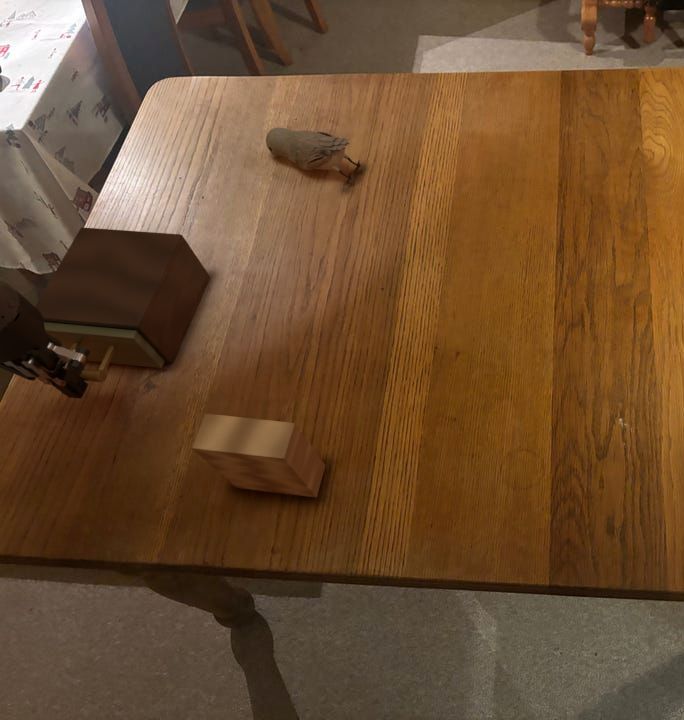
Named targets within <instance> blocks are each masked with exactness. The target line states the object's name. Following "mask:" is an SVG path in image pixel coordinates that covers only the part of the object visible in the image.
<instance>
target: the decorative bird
mask: <svg viewBox="0 0 684 720" xmlns="http://www.w3.org/2000/svg"><path fill="white" fill-rule="evenodd" d="M350 140H351V138H346V137H339V136H334V135H332V134H330V133H328V132H325V131H312V130H292V129H288V128H285V127H273V128H271V129H270V130H269V131H268V132H267V134H266V137H265V144H266V147H267V149H268V150H269V152H270V154H271V155H272V156H274V157H279V156H284V157H287V159H288V160H289V161H291V162H293V163H294V164H296V165H297V166H298V167H299V168H301V169H302V170H305V171H313V170H321V171H323V170H328V171H332V170H333V171H335V172H338V173H340V174H341V175H342V176H343V177H345V178H347V180H346V182H345V185H347V184H348V185H350V181H351V180H353V176H352V175H351V174H352V172H349V174H348V175H347V174H345V173H344V172H343V171H342V170H341V168H340V167H339V166H340V165H341V164H342V162H343V159H345V160H347V161H349V162H350V163H351V164H353V165H354V166H356V167H355V169H354V172H353V173H354V175H356V172H357V173H359V169H360V168H362V166H361V165H362V164H361V163H360V162H361V160H358V161H357V162H354V161H353V160H352V159H351V157H349V156H348V155H347V154H346V153H345V150H346V149H347V146H348V145H350V142H349V141H350Z"/></svg>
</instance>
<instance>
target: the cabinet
mask: <svg viewBox="0 0 684 720" xmlns="http://www.w3.org/2000/svg"><path fill="white" fill-rule="evenodd" d="M210 278H211V276H210V274H209V273H208V270H206V268H205V267H204V265H203V264H202V261H201V260H200V259H199V258H198V256H197V255H196V254H195V252H194V250H193V249H192V247H191V245H190V244H189V243H188V242H187V240H186V238H185V236H183V234H180V233H167V232H166V233H165V232H154V231H139V230H125V229H124V230H123V229H111V228H97V227H80V229H79V230H78V232H77V234H76V236H75V237H74V238H73V241H72V242H71V243H70V246H69V247H68V249H67V251H66V252H65V255H64V256H63V257H62V259H61V261H60V263H59V265H58V266H57V268H56V269H55V271H54V273H53V275H52V277H51V278H50V280H49V281H48V283H47V285H46V286H45V288H44V290H43V291H42V294H41V295H40V297H39V299H38V300H37V302H36V304H35V305H34V306H35V307H36V308H37V309H38V310H39V311H40V313H41V314H42V316H43V320H44V322H51V323H59V322H61V323H72V324H83V325H94V326H105V327H116V328H127V329H136V330H137V331H138V332H139V333H140V334H141V335H142V337H143V338H144V339H145V340H146V341H147V342H148V343H149V344H150V345H151V346H152V347H153V348H154V349H155V350H156V351H157V353H158V354H159V355H160V356H161V357H162V358H163V359H164V360H165V362H164V364H168V365H173V364H174V362H175V359H176V356H177V354H178V352H179V350H180V348H181V346H182V343H183V341H184V338H185V336H186V335H187V331H188V330H189V327H190V324H191V322H192V320H193V318H194V315H195V313H196V312H197V311H196V310H197V308H198V306H199V304H200V302H201V299H202V297H203V295H204V293H205V290H206V287H207V286H208V283H209V281H210Z"/></svg>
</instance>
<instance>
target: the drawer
mask: <svg viewBox="0 0 684 720" xmlns="http://www.w3.org/2000/svg"><path fill="white" fill-rule="evenodd" d="M44 327H45V331H46V333H48V334H49V335H51V336H52V337H54V338H56V339H58V340H59V341H60V342H61V344H62V347H63V348H66V349H69V350H73V349H75V350H77V349H78V347H83V348H86V349H88V350H89V351H90V352H89V355H88V359H87V362H96V363H100V365H99V367H98V369H88V368H84V370H82V372H81V374H80V376H79V377H80V378H82V379H83V380H84V381H85V382H94V383H104V382H106V380H107V376H108V375H107V372H106V371H107V370H108V367H109V366H110V364H117V365H128V366H135V367H137V366H138V367H147V368H156V369H157V368H158V369H162V368H163V366H164V364H165V363H164V362H165V360H164V359H163V358H162V357H161V356H160V355H159V354H158V353H157V351H156V350H155V349H154V348H153V347H152V346H151V345H150V344H149V343H148V342H147V341H146V340H145V339H144V338H143V337H142V335H141V334H140V333H139V332H138V331H137V330H127V329H116V328H105V327H94V326H83V325H80V324H72V323H61V322H59V323H51V322H44Z"/></svg>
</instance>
